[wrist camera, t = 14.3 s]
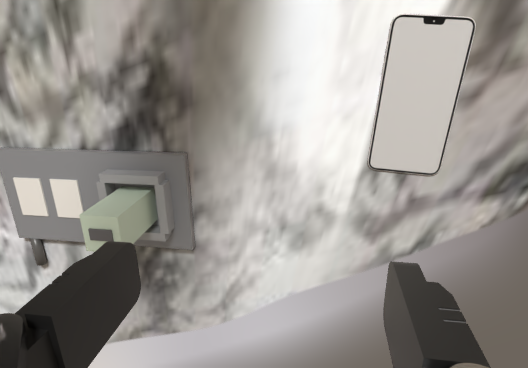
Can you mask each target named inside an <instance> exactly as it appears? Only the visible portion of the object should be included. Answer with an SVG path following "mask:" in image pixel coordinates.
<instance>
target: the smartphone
mask: <svg viewBox="0 0 528 368" xmlns="http://www.w3.org/2000/svg"><path fill="white" fill-rule="evenodd" d="M475 29H476V24H475V21H474V20H473V19H472V18H470V17H462V16H441V15H421V14H400V15H397V16H396V17H395V18H394V19H393V20H392V22H391V25H390V30H389V36H388V42H387V48H386V51H385V57H384V63H383V69H382V77H381V83H380V89H379V95H378V101H377V107H376V113H375V119H374V125H373V131H372V137H371V143H370V149H369V155H368V165H369V167H370V168H371V169H373V170H378V171H387V172H397V173H407V174H417V175H427V176H432V175H435V174H437V173H438V172H439V171H440V169H441V165H442V161H443V157H444V153H445V149H446V146H447V142H448V138H449V134H450V130H451V126H452V122H453V118H454V114H455V110H456V106H457V102H458V98H459V94H460V90H461V86H462V82H463V78H464V74H465V70H466V66H467V62H468V58H469V54H470V50H471V46H472V42H473V38H474V34H475ZM382 79H383V80H382Z"/></svg>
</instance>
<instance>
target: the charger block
mask: <svg viewBox="0 0 528 368" xmlns="http://www.w3.org/2000/svg"><path fill="white" fill-rule="evenodd" d="M79 216H80V221H81V226H82V231H83V236H84V240H85V245H86V250H87V251H96V250H98V249H99V248H100V247H101V246H102V245H103V244H104V243H106V242H108V241H116V242H130V243H132V244H134V243H135V242H136V241H137V240H138V239H139V237H140V236H141V235H142V234H143V233H144V232H145V231H146V230H147V229H148V228H149V227H150V226H151V225H152V224H153V223H154V222H155V221H156V220H157V219H158V215H157V207H156V199H155V191H154V188H148V187H127V186H122V187H120V188H119V189H117V190H116V191H114V192H113V193H111V194H110V195H108V196H107V197H105V198H104V199H102V200H101V201H99V202H98V203H96V204H95V205H93V206H92V207H90V208H89V209H87V210H86V211H84V212H83V213H81V214H80V215H79Z"/></svg>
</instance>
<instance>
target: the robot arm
mask: <svg viewBox="0 0 528 368" xmlns="http://www.w3.org/2000/svg"><path fill="white" fill-rule="evenodd" d="M140 289H141V282H140V276H139V269H138V263H137V257H136V250H135V247H134V245H133V244H132V243H130V242H116V241H108V242H106V243H104V244H103V245H102V246H101V247H100V248H99V249H98V250H96V251H95V252H94V253H93V254H92V255H89V256H87V257H85V258H84V259H82V260H80V261H78V262H76V263H74V264H73V265H72V266H70V267H69V268H68V269H67V270H66V271H64V272H63V273H62V276H59V277H57V278H56V279H55V280H54V281H53V282H52V284H49V285H48V286H47V287H46V288H44V289H43V290H42V291H41V292H40V293H39V294H37V295H36V296H35V297H34V298H33V299H31V300H30V301H29V302H28V303H27V304H26V305H24V306H23V307H22V308H21V309H20V310H18V311H17V312H16V313H15V314H12V313H4V314H0V368H88V366H89V365H90V364H91V362H92V361H93V360H94V358H95V357H96V356H97V354H98V353H99V352H100V350H101V349H102V348H103V346H104V345H105V344H106V342H107V341H108V340H109V338H110V337H111V336H112V334H113V333H114V332H115V330H116V329H117V328H118V326H119V325H120V324H121V322H122V321H123V320H124V318H125V317H126V316H127V314H128V313H129V312H130V310H131V309H132V308H133V306H134V305H135V303H136V302H137V300H138V298H139V294H140ZM383 316H384V327H385V332H386V336H387V341H388V345H389V350H390V355H391V359H392V364H393V368H491V367H490V366H489V364H488V362H487V360H486V358H485V356H484V354H483V352H482V350H481V348H480V347H479V345H478V343H477V341H476V339H475V337H474V335H473V333H472V331H471V330H470V328H469V326H468V324H466V320H465V318H464V316H463V315H462V313H461V312H460V309H459V307H458V305H457V303H456V301H455V299H454V297H453V296H452V294H450V293H449V292H448V291H447V290H446V289H445V288H444V287H442V286H441V285H440V284H439V283H435V282H426V280H425V277H424V275H423V273H422V271H421V268H420V266H419V265H418V264H417V263H403V262H390V264H389V268H388V276H387V283H386V292H385V300H384V313H383Z"/></svg>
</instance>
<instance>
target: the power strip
mask: <svg viewBox="0 0 528 368" xmlns="http://www.w3.org/2000/svg"><path fill="white" fill-rule="evenodd" d="M0 171H1V175H2V178H3V182H4V185H5V189H6V192H7V196H8V199H9V203H10V207H11V210H12V214H13V217H14V221H15V224H16V228H17V231H18V235H19V237H20V238H30V241H31V245H32V249H33V253H34V256H35V260H36V264H37V265H44V264H45V263H47V260H46V256H45V253H44V249H43V245H42V241H41V239H47V240H61V241H75V242H85V240H84V236H83V231H82V226H81V221H80V216H79V215H80V214H81V213H83V212H84V211H86V210H87V209H89V208H90V207H92V206H93V205H95V204H96V203H98V202H99V201H101V200H102V199H104V198H105V197H107V196H108V195H110V194H111V193H113V192H114V191H116V190H117V189H119V188H120V187H122V186H127V187H148V188H154V191H155V199H156V207H157V215H158V219H157V220H156V221H155V222H154V223H153V224H152V225H151V226H150V227H149V228H148V229H147V230H146V231H145V232H144V233H143V234H142V235H141V236H140V237H139V239H138V240H137V241H136V242H135V243H134V244H133V245H134V246H145V247H159V248H173V249H187V250H193V249H194V247H195V235H194V224H193V213H192V202H191V191H190V180H189V169H188V158H187V153H177V152H143V151H109V150H74V149H40V148H6V147H1V148H0Z"/></svg>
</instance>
